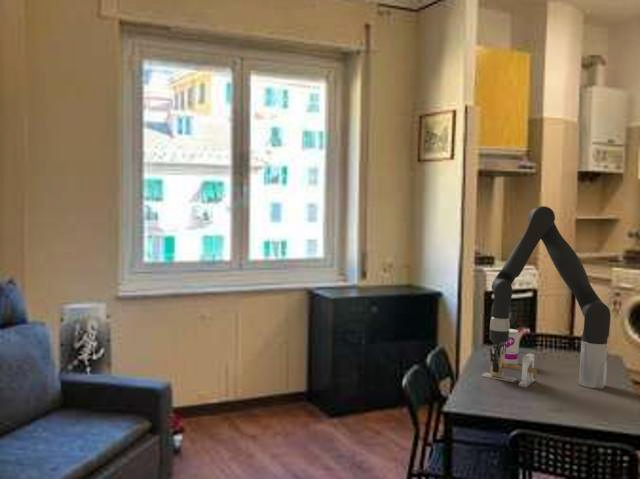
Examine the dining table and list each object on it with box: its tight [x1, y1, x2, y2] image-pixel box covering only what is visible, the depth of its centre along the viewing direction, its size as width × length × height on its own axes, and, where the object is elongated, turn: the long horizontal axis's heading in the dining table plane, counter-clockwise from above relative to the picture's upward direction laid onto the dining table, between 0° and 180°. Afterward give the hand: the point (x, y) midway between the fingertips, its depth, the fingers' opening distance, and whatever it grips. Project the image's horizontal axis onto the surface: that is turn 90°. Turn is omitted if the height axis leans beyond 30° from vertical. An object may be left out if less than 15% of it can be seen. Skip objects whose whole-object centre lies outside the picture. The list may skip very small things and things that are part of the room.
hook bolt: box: [490, 353, 537, 380], centre depth 253 cm, size 17×4×9 cm, turn 56°
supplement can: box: [504, 328, 520, 365], centre depth 278 cm, size 8×8×15 cm
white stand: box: [481, 352, 536, 388], centre depth 255 cm, size 19×12×11 cm, turn 56°
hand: (497, 370), depth 257 cm, fingers closed on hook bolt, 4 cm apart
